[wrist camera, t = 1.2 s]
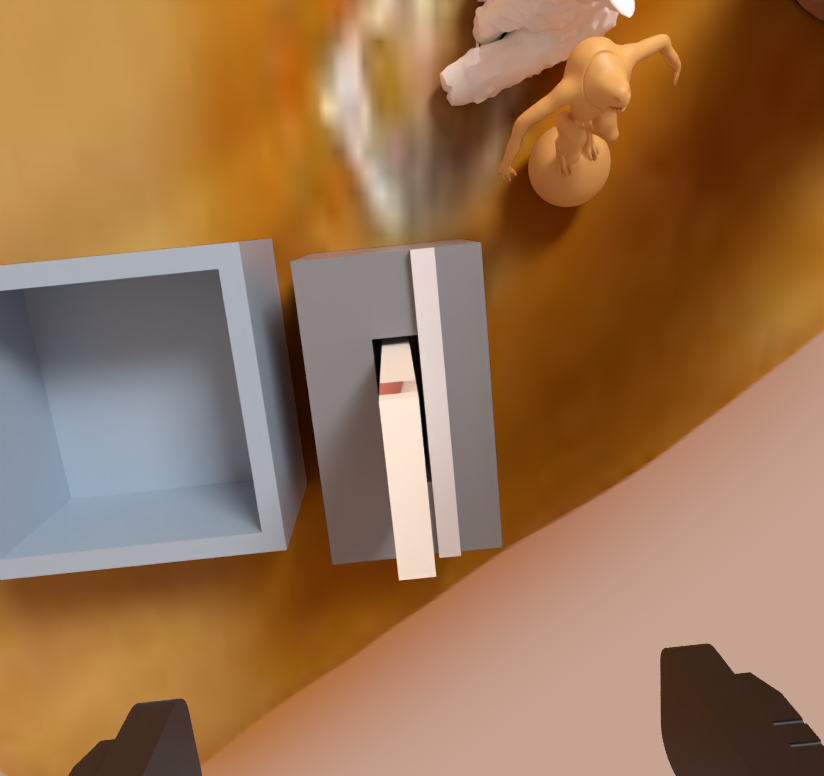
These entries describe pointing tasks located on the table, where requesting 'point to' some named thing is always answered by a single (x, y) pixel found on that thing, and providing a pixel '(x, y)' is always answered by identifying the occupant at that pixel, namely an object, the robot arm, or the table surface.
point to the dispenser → (435, 378)
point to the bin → (145, 410)
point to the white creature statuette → (524, 42)
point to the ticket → (405, 461)
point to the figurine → (583, 119)
